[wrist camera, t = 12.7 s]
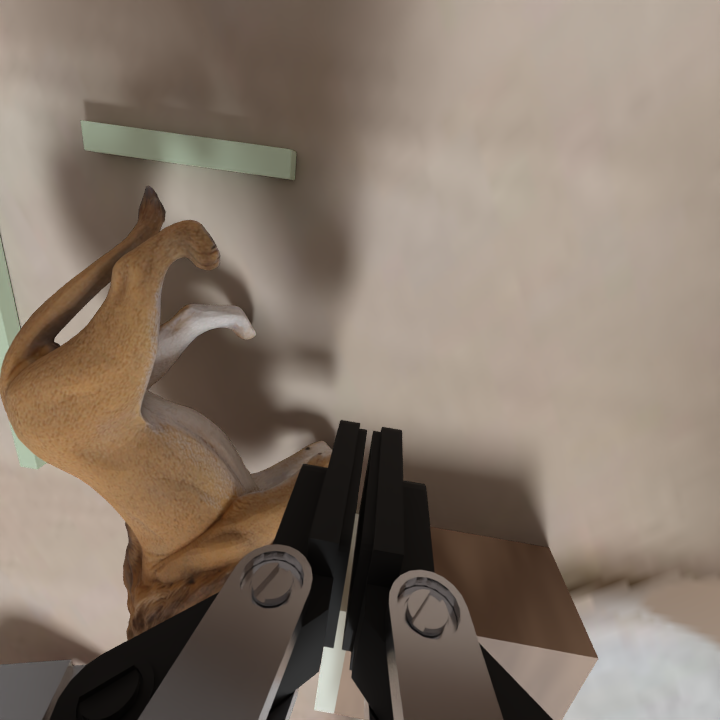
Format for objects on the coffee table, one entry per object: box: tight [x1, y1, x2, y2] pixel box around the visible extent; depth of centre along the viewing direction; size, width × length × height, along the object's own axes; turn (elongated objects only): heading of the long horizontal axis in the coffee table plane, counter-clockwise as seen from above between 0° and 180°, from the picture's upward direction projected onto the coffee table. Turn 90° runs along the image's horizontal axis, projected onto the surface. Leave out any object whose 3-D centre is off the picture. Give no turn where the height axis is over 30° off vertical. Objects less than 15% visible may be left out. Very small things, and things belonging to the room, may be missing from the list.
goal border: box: [0, 120, 296, 469], centre depth 15 cm, size 11×16×1 cm
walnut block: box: [314, 514, 598, 720], centre depth 16 cm, size 4×6×9 cm
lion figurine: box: [0, 186, 332, 640], centre depth 12 cm, size 15×5×9 cm
